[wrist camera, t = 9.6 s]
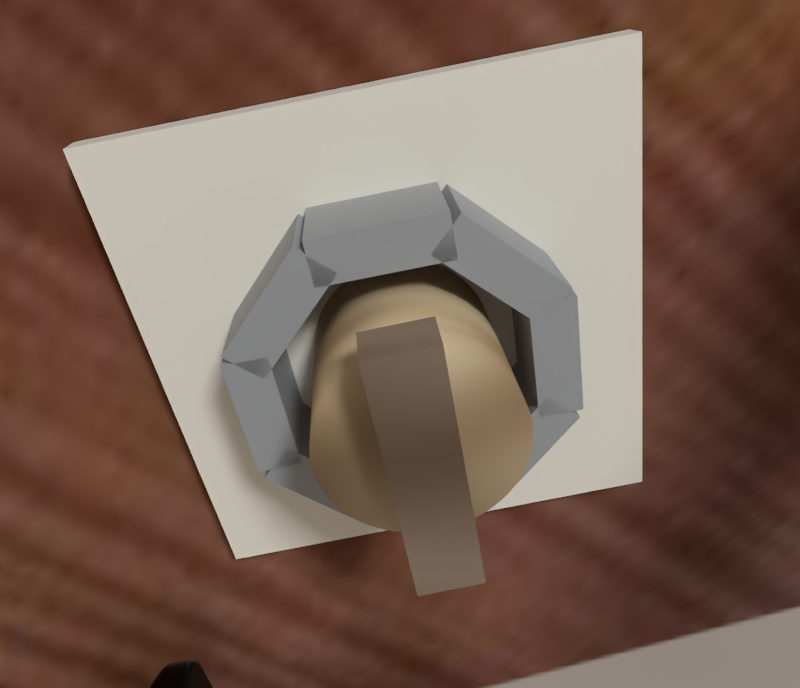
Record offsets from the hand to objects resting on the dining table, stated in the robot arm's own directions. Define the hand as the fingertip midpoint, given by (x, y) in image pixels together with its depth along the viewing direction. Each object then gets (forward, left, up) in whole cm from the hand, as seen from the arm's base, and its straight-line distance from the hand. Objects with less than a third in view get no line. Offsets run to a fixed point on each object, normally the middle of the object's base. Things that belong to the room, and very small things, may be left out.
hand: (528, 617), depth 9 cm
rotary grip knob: (+1, +2, -11) cm, 11 cm away
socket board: (+1, +2, -12) cm, 12 cm away
